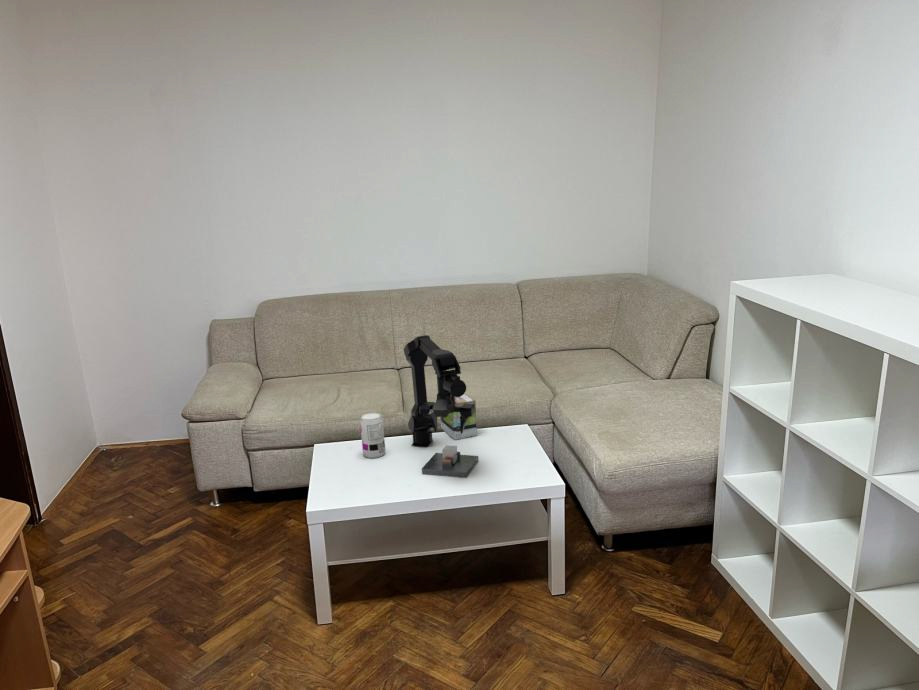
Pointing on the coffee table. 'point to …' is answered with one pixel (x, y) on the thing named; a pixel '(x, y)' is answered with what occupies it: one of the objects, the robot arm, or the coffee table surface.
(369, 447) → the supplement can
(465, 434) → the tea box
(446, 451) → the grey metal cube
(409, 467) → the coffee table surface
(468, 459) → the stand
